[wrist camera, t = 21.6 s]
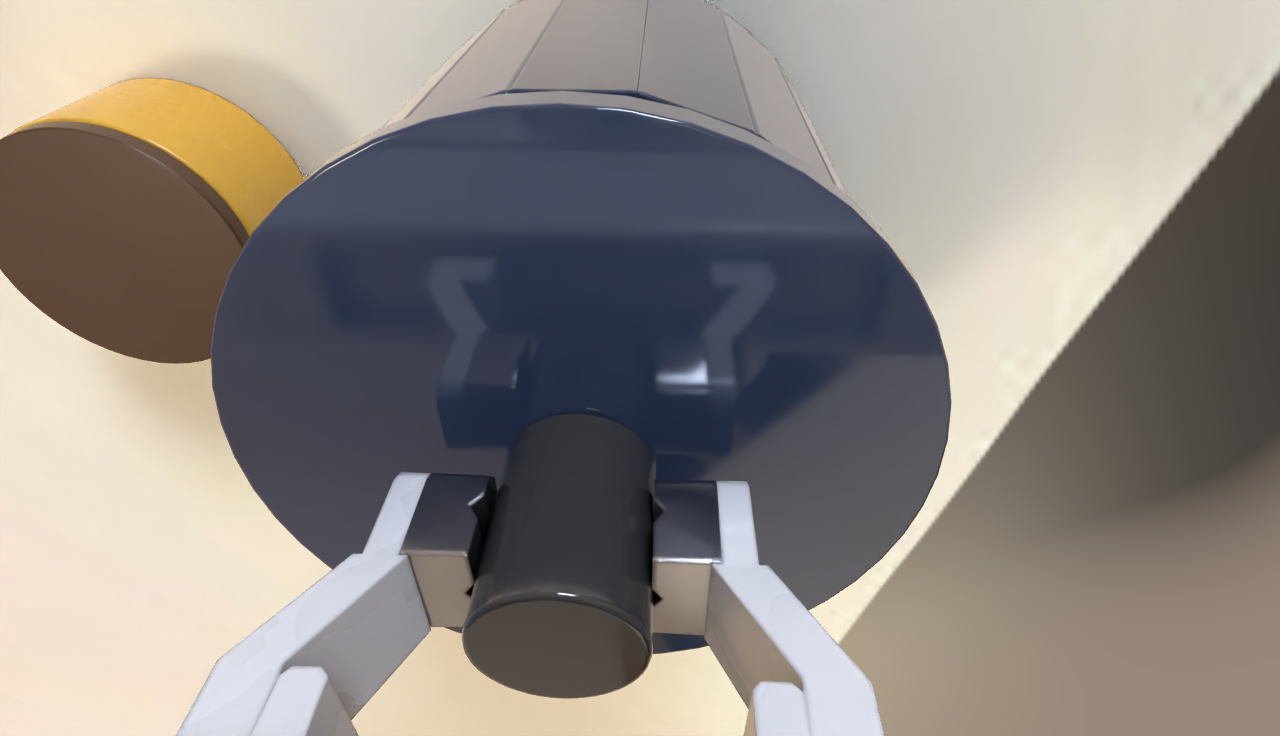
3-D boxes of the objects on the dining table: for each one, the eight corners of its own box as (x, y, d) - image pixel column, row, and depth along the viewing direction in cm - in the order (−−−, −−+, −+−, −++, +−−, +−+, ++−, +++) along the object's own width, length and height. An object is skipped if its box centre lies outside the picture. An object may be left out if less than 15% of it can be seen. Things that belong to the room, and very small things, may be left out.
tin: (27, 76, 19) (-98, 124, 16) (276, 77, 19) (199, 126, 16) (139, 292, 24) (57, 363, 20) (343, 295, 23) (292, 367, 20)
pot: (384, -24, 18) (171, 84, 10) (846, -20, 17) (985, 95, 10) (456, 348, 25) (364, 575, 17) (785, 355, 24) (838, 589, 17)
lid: (115, 70, 9) (-242, 223, 6) (1035, 82, 9) (1287, 252, 5) (346, 603, 17) (256, 818, 13) (855, 618, 17) (908, 842, 13)
